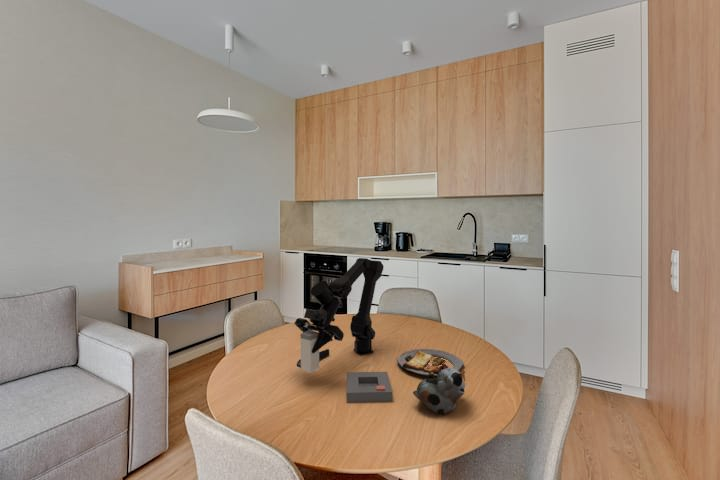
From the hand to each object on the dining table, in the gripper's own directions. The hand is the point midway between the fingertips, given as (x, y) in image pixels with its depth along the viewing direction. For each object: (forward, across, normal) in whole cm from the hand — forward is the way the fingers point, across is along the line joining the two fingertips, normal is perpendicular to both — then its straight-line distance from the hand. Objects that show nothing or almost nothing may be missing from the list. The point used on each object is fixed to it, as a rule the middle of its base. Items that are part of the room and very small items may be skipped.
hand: (307, 351), depth 115 cm
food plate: (-18, +29, +34) cm, 48 cm away
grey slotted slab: (+3, +20, +14) cm, 24 cm away
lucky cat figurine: (-1, +42, +17) cm, 45 cm away
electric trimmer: (-2, -11, +20) cm, 23 cm away
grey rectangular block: (+4, 0, +6) cm, 7 cm away
